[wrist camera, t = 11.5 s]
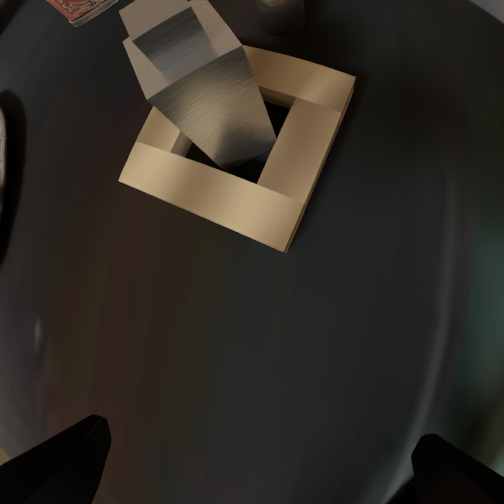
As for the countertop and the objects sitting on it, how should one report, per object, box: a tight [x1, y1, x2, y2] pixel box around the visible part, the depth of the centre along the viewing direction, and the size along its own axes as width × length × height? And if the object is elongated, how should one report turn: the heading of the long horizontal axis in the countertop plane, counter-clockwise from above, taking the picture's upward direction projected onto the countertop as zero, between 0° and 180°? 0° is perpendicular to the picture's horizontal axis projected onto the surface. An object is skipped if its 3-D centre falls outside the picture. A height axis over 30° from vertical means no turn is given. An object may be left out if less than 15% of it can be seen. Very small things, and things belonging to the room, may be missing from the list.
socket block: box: [119, 45, 356, 253], centre depth 18 cm, size 11×11×2 cm
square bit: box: [119, 0, 277, 173], centre depth 13 cm, size 4×4×12 cm
